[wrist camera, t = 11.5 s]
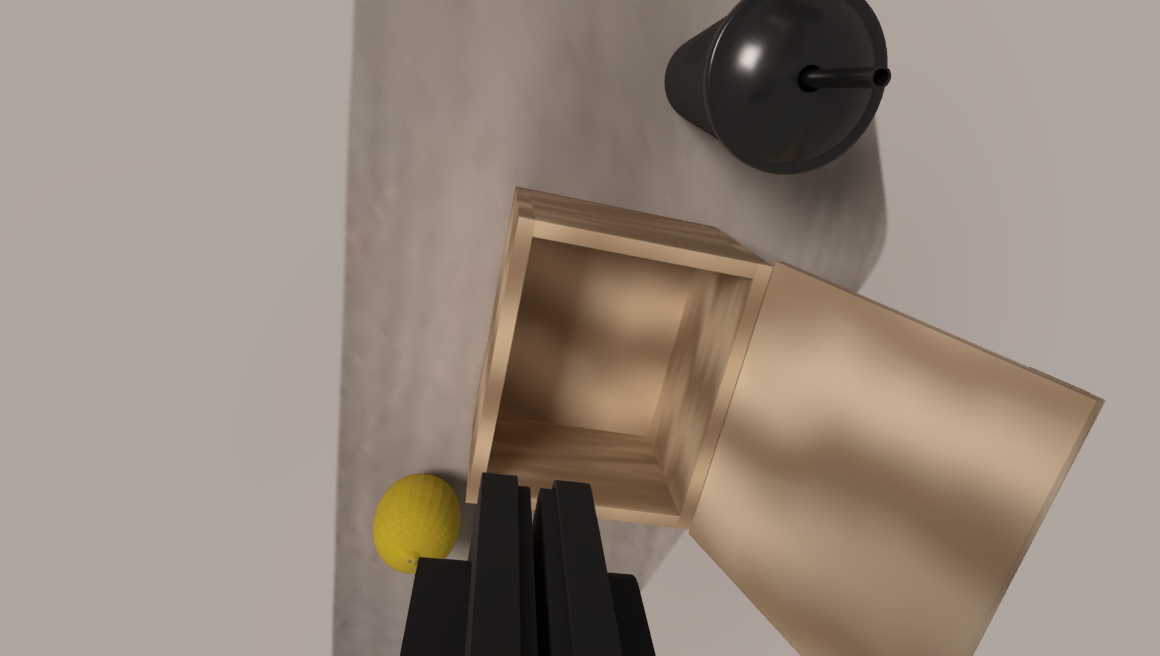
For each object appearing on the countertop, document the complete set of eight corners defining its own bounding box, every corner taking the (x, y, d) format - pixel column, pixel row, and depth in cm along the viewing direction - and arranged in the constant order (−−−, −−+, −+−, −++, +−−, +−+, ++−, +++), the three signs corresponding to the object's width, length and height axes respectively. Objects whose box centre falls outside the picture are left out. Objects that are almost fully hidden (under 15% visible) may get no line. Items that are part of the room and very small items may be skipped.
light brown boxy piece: (515, 186, 41) (519, 217, 31) (714, 226, 43) (773, 266, 33) (473, 416, 46) (465, 502, 36) (653, 442, 48) (689, 529, 39)
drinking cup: (658, 162, 41) (785, 227, 22) (626, 32, 38) (742, -18, 20) (775, 125, 41) (1002, 159, 22) (753, -7, 38) (989, -94, 20)
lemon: (480, 480, 47) (475, 555, 40) (431, 531, 48) (418, 613, 41) (417, 437, 46) (400, 507, 38) (368, 491, 47) (342, 569, 39)
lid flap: (1096, 400, 21) (1107, 400, 22) (775, 261, 33) (785, 262, 34) (905, 770, 26) (916, 765, 27) (688, 533, 39) (698, 532, 39)
